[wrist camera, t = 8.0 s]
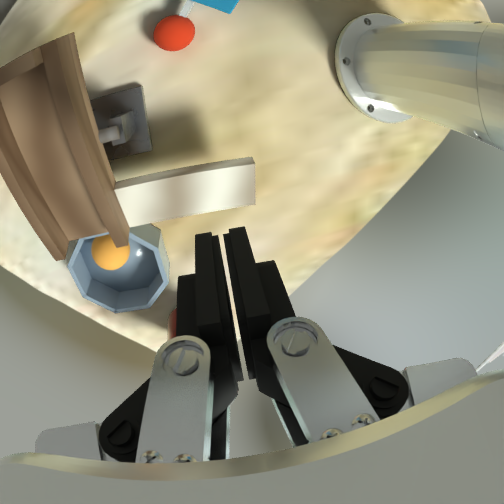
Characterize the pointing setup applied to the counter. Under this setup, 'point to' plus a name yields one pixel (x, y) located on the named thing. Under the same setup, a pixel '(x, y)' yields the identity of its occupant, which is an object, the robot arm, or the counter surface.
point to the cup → (124, 272)
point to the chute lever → (90, 160)
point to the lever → (184, 25)
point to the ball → (109, 253)
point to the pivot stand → (124, 122)
